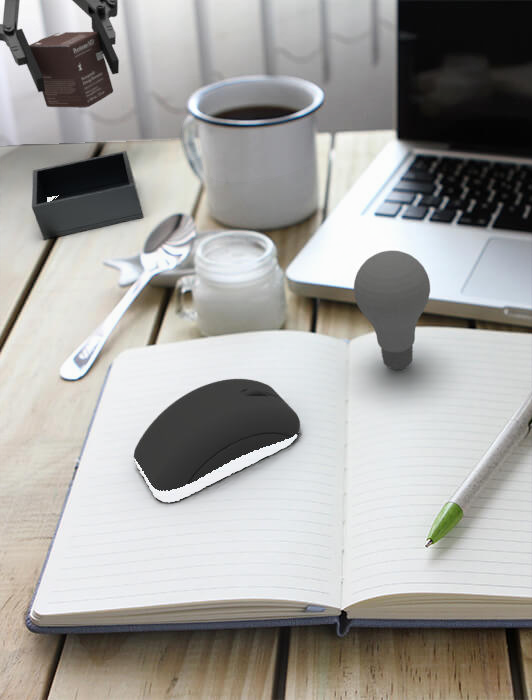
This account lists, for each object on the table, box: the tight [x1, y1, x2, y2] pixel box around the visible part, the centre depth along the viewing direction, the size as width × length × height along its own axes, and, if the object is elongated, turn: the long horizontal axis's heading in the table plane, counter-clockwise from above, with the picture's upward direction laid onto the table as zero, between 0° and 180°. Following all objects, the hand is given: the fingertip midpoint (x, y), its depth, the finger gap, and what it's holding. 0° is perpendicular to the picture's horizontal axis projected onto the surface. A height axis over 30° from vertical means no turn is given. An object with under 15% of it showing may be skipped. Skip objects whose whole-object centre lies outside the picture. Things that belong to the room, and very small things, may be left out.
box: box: [29, 31, 114, 109], centre depth 94 cm, size 6×6×7 cm
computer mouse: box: [133, 378, 301, 491], centre depth 55 cm, size 6×11×4 cm, turn 122°
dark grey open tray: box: [31, 150, 144, 241], centre depth 90 cm, size 11×11×4 cm
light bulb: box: [353, 250, 431, 370], centre depth 59 cm, size 6×6×10 cm
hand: (78, 76), depth 92 cm, fingers closed on box, 8 cm apart
